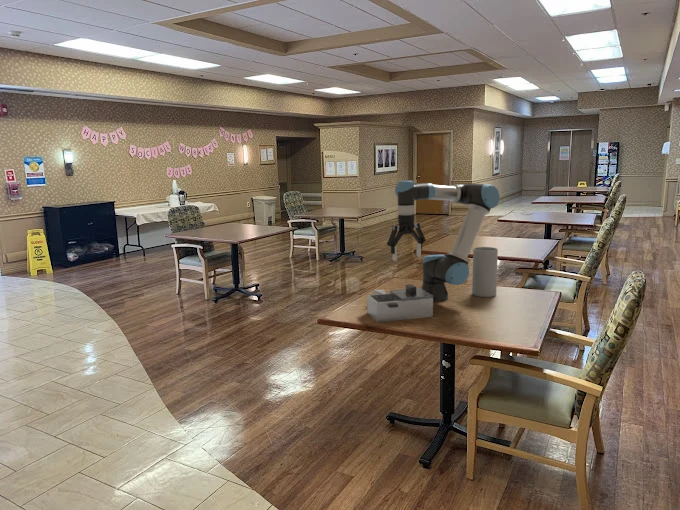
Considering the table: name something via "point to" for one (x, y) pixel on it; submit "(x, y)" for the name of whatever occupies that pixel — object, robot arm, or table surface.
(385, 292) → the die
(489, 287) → the cylinder vase
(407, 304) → the grey lidded storage box
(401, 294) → the lid
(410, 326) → the table surface
